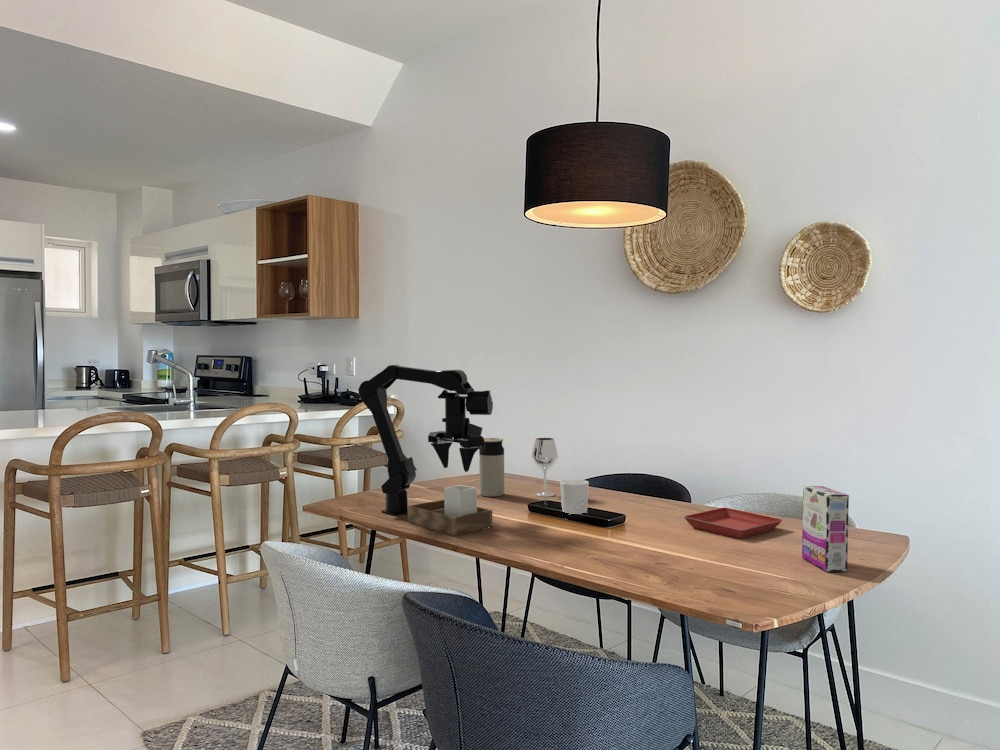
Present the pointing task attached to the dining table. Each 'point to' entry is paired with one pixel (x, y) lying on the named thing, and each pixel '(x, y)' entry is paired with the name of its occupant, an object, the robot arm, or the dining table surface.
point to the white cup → (574, 496)
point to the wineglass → (544, 459)
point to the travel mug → (491, 467)
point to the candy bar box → (825, 528)
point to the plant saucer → (732, 522)
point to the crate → (448, 518)
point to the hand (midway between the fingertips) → (456, 469)
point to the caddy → (460, 500)
